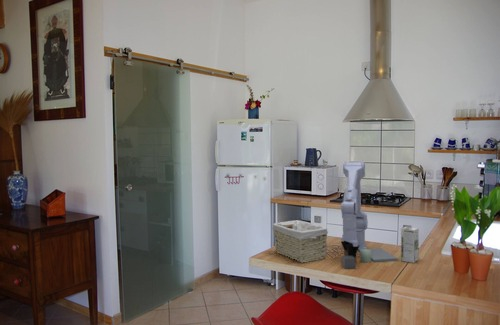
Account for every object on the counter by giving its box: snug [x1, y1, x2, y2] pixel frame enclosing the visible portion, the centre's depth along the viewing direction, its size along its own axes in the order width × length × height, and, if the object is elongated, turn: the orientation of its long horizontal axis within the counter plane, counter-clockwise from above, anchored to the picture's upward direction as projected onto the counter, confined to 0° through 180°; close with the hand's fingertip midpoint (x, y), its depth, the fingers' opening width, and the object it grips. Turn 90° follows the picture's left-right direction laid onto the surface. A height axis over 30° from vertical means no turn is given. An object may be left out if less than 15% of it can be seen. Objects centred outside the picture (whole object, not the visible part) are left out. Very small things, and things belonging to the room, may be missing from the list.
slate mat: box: [358, 247, 399, 263], centre depth 182 cm, size 18×11×1 cm, turn 6°
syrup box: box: [400, 226, 420, 264], centre depth 173 cm, size 6×6×14 cm
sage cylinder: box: [359, 248, 372, 264], centre depth 174 cm, size 4×4×5 cm
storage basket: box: [272, 219, 329, 264], centre depth 186 cm, size 24×16×15 cm
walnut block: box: [343, 249, 357, 264], centre depth 174 cm, size 4×4×5 cm
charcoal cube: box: [341, 255, 356, 270], centre depth 167 cm, size 4×4×4 cm
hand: (350, 258), depth 174 cm, fingers closed on walnut block, 4 cm apart
